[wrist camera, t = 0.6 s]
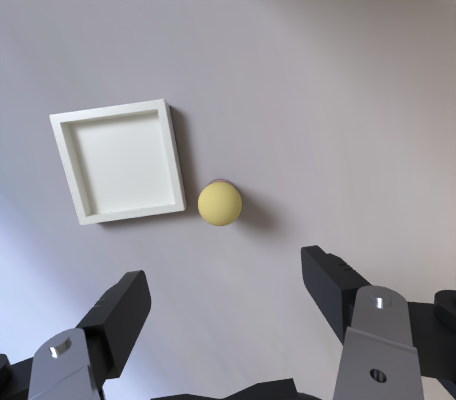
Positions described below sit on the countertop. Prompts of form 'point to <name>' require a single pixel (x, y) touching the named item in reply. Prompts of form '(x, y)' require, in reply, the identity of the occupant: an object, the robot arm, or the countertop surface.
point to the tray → (120, 161)
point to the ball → (220, 204)
